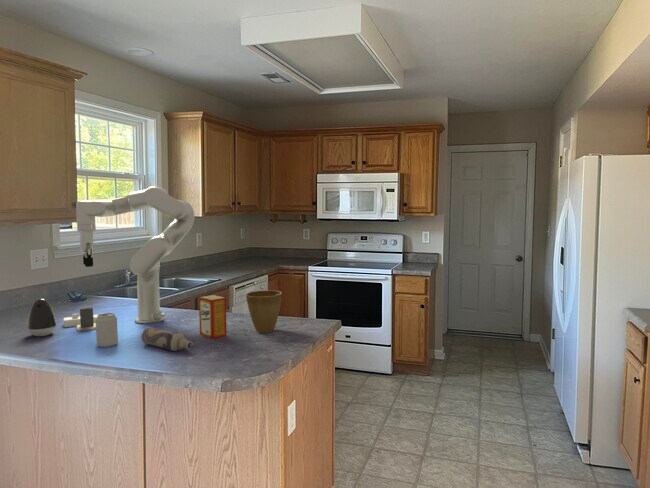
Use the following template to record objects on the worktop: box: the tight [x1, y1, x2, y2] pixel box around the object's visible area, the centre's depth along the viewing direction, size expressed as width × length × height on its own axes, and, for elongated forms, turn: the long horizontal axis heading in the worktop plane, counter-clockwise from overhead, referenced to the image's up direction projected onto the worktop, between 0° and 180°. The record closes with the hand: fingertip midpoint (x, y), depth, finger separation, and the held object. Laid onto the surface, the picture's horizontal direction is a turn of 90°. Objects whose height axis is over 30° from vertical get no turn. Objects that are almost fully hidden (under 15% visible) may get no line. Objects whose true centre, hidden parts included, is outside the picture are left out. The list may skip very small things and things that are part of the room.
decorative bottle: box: [141, 326, 196, 352], centre depth 183 cm, size 26×8×7 cm, turn 55°
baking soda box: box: [198, 294, 228, 340], centre depth 201 cm, size 10×6×16 cm
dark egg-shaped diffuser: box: [27, 298, 57, 337], centre depth 204 cm, size 10×10×15 cm
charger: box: [79, 306, 94, 328], centre depth 216 cm, size 5×4×8 cm
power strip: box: [63, 312, 104, 328], centre depth 224 cm, size 18×6×5 cm, turn 117°
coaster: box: [76, 323, 96, 332], centre depth 216 cm, size 8×8×1 cm
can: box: [95, 312, 119, 348], centre depth 188 cm, size 8×8×12 cm
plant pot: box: [245, 289, 282, 334], centre depth 208 cm, size 15×15×16 cm
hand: (88, 265), depth 226 cm, fingers open, 9 cm apart
